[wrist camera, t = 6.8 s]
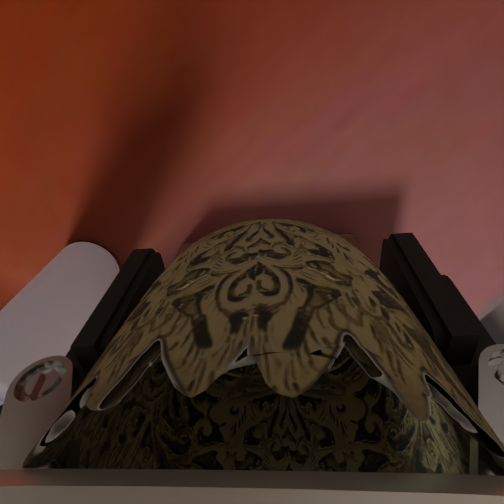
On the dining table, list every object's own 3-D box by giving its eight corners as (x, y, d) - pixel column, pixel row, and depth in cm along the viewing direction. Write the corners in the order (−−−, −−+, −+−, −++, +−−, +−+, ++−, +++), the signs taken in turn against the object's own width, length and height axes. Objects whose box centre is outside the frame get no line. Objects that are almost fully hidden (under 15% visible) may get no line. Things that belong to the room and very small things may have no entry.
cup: (374, 326, 13) (471, 618, 7) (195, 335, 14) (124, 601, 8) (390, 135, 9) (670, 388, 3) (140, 164, 10) (-109, 410, 4)
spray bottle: (51, 243, 33) (-231, 498, 15) (107, 235, 32) (-122, 498, 14) (79, 290, 37) (-127, 549, 18) (130, 284, 36) (-32, 552, 17)
